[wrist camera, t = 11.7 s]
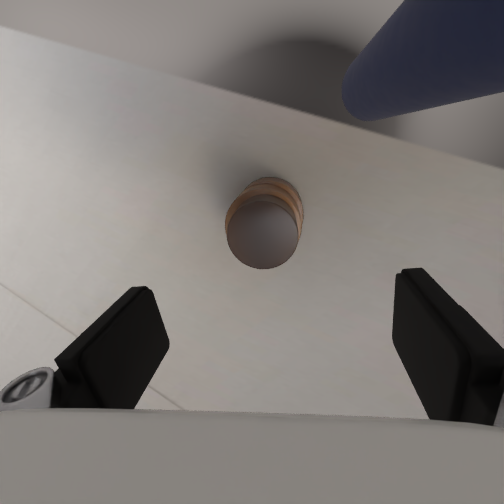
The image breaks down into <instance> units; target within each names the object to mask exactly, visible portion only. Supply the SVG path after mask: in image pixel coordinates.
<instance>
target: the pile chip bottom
mask: <svg viewBox="0 0 504 504" xmlns="http://www.w3.org/2000/svg"><path fill="white" fill-rule="evenodd" d="M259 184H271V185H275V186H278V187H280V188H282V189H284V190H286V191H287V192H288V193H289V194H290V195H291V196H292V197H293V198H294V200H295V201H296V203H297V205H298V208H299V212H300V217H301V224H302V223H303V207H302V203H301V199H300V196H299V194H298V192H297V191H296V190H295V188H294V187H293V186H292V185H291V184H289V183H288V182H286V181H284V180H282V179H279V178H275V177H265V178H261V179H258V180H256V181H254V182H252V183H251V184H250V185H249V186H248V187H247V188H246V189H248V188H250V187H252V186H255V185H259ZM246 189H245V190H246ZM245 190H244V191H245Z"/></svg>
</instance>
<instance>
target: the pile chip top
mask: <svg viewBox="0 0 504 504" xmlns="http://www.w3.org/2000/svg"><path fill="white" fill-rule="evenodd" d="M262 194H267V195H273V196H276V197H279V198H281V199H282V200H284V201H285V202H286V203H287V204H288V205H289V206H290V207H291V208H292V210H293V211H294V213H295V216H296V219H297V226H298V241H299V238H300V235H301V229H302V224H301V217H300V212H299V208H298V205H297V203H296V201H295V200H294V198H293V197H292V196H291V195H290V194H289V193H288V192H287V191H286V190H284V189H282V188H280V187H278V186H275V185H271V184H259V185H255V186H252V187H250V188H248V189H246V190H245V191H243V192H242V193H241V194H240V195H239V196H238V197H237V198H236V200H235V201H234V202H233V203H232V205H231V206H230V208H229V210H228V212H227V215H226V220H225V230H226V234H227V227H228V224H229V221H230V219H231V217H232V216H233V214H234V213H235V211H236V210H237V209H238V207H239V206H240V205H241V204H242V203H243V202H244V201H245V200H247V199H248V198H250V197H253V196H256V195H262Z"/></svg>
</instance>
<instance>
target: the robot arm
mask: <svg viewBox="0 0 504 504" xmlns="http://www.w3.org/2000/svg"><path fill="white" fill-rule="evenodd" d="M392 339H393V343H394V346H395V348H396V350H397V353H398V355H399V357H400V359H401V361H402V363H403V365H404V367H405V369H406V371H407V373H408V375H409V377H410V379H411V382H412V384H413V386H414V388H415V390H416V392H417V394H418V396H419V398H420V400H421V402H422V404H423V406H424V409H425V411H426V413H427V415H428V417H429V419H430V420H429V419H410V418H390V417H370V416H344V415H315V414H286V413H255V412H221V411H185V410H144V409H134V408H135V406H136V404H137V403H138V401H139V399H140V398H141V396H142V394H143V392H144V391H145V389H146V387H147V386H148V384H149V382H150V380H151V379H152V377H153V375H154V373H155V372H156V370H157V368H158V367H159V365H160V363H161V361H162V360H163V358H164V356H165V354H166V353H167V351H168V349H169V338H168V336H167V333H166V330H165V327H164V324H163V321H162V318H161V315H160V312H159V309H158V306H157V303H156V300H155V297H154V294H153V292H152V290H150V289H149V288H148V287H146V286H140V287H131V288H130V289H129V290H128V291H127V292H126V293H124V294H123V295H122V296H121V297H120V298H119V299H118V300H117V301H116V302H115V303H114V304H113V305H112V306H111V307H110V308H109V309H107V310H106V311H105V312H104V313H103V314H102V315H101V316H100V317H99V318H98V319H97V320H96V321H95V322H94V323H93V324H92V325H90V326H89V327H88V328H87V329H86V330H85V331H84V332H83V333H82V334H81V335H80V336H79V337H78V338H77V339H76V340H75V341H73V342H72V343H71V344H70V345H69V346H68V347H67V348H66V349H65V350H64V351H63V352H62V353H61V354H60V355H59V356H57V357H56V358H55V359H54V360H55V362H56V364H57V366H58V367H59V369H58V370H57V371H56V372H54V371H53V369H51V368H50V367H41V368H36V369H34V370H31V371H28V372H26V373H24V374H22V375H20V376H19V377H17V378H16V379H14V380H13V381H11V382H10V383H9V384H7V385H6V386H5V387H4V388H3V389H2V390H1V391H0V504H504V349H503V348H502V347H501V346H500V345H499V344H498V343H497V342H496V341H495V340H494V339H493V338H492V337H491V336H490V335H489V334H488V333H487V332H486V331H485V330H484V329H483V328H482V326H481V325H480V324H479V323H478V322H477V321H476V320H475V319H474V318H473V317H472V316H471V315H470V314H469V313H468V312H467V311H466V310H465V309H464V308H463V307H461V306H460V305H458V304H457V303H456V302H455V301H454V300H453V299H452V298H451V297H450V296H449V295H448V294H447V293H446V292H445V291H444V290H443V289H442V288H441V286H440V285H439V284H438V283H437V282H436V281H435V280H434V279H433V278H432V277H431V276H430V275H429V274H428V273H427V272H426V271H425V270H424V269H423V268H410V269H403V270H402V271H401V273H397V274H396V280H395V296H394V313H393V330H392Z"/></svg>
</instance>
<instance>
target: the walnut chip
mask: <svg viewBox="0 0 504 504" xmlns="http://www.w3.org/2000/svg"><path fill="white" fill-rule="evenodd" d="M227 241H228V245H229V247H230V249H231V251H232V253H233V254H234V255H235V257H236V258H237V259H238V260H240V261H241V262H242V263H244V264H245V265H248V266H250V267H253V268H257V269H270V268H274V267H277V266H279V265H281V264H283V263H284V262H286V261H287V260H288V259H289V258H290V257H291V256H292V255H293V253H294V251H295V249H296V247H297V244H298V226H297V219H296V216H295V213H294V211H293V210H292V208H291V207H290V206H289V205H288V204H287V203H286V202H285V201H284V200H282V199H281V198H279V197H276V196H273V195H267V194H262V195H256V196H253V197H250V198H248V199H247V200H245V201H244V202H243V203H242V204H241V205H240V206H239V207H238V209H237V210H236V211H235V213H234V214H233V216H232V217H231V219H230V221H229V224H228V227H227Z"/></svg>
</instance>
